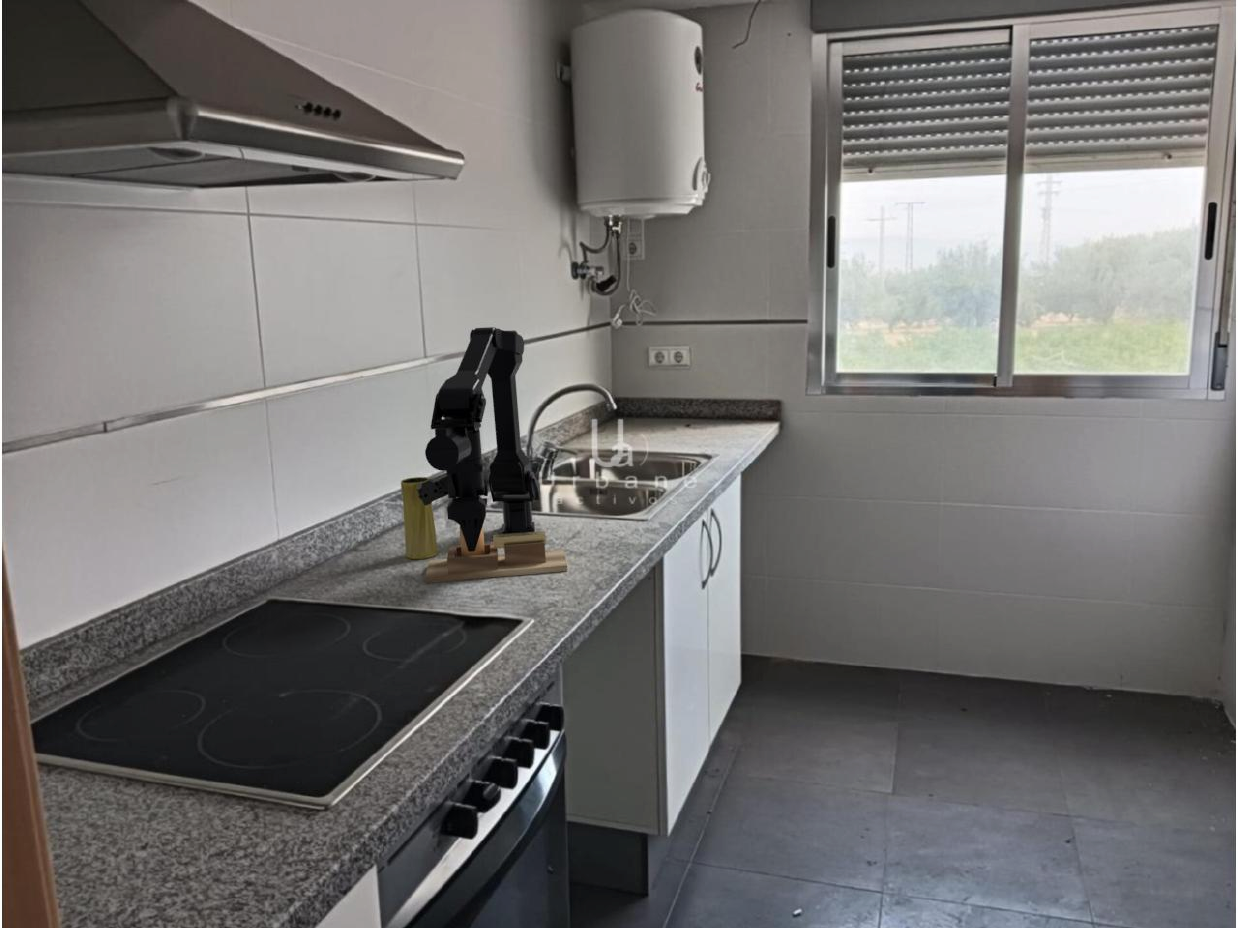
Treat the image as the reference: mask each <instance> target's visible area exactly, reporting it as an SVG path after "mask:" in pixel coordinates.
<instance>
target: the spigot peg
mask: <svg viewBox="0 0 1238 928" xmlns="http://www.w3.org/2000/svg"><path fill="white" fill-rule="evenodd" d="M459 537H460V538H459V539H460V545H461V552H462V556H474V555H485V548H484V544H485V538H484V537H485V536H484V525H483V526H482V530H481V533H480V536H479V539H478V543H477V546H476V549H475V551H473V552H469V551H468V548H467V545H466V542H465V539H464V536H463V533H462V530H461V527H460V526H459Z"/></svg>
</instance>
